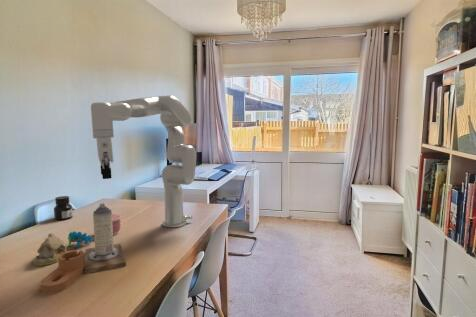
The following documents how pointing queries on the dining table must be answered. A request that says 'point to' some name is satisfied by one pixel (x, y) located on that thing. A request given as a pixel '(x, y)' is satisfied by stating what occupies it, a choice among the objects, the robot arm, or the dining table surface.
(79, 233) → the gear
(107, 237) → the aerosol can
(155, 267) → the dining table surface
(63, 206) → the ink bottle
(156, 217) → the dining table surface
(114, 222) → the container
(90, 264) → the flange board
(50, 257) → the ceramic model
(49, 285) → the bracket
